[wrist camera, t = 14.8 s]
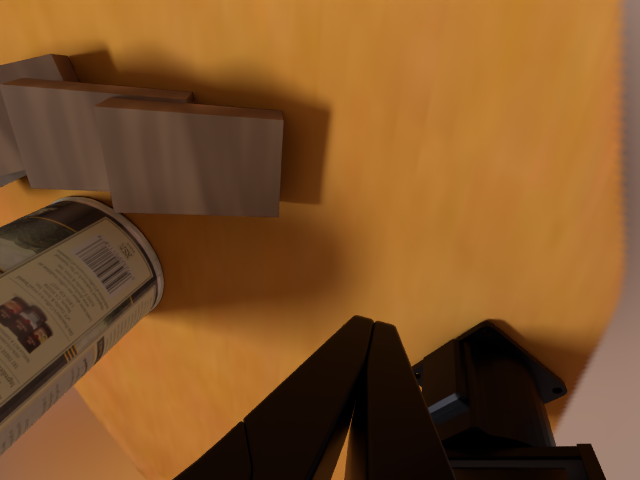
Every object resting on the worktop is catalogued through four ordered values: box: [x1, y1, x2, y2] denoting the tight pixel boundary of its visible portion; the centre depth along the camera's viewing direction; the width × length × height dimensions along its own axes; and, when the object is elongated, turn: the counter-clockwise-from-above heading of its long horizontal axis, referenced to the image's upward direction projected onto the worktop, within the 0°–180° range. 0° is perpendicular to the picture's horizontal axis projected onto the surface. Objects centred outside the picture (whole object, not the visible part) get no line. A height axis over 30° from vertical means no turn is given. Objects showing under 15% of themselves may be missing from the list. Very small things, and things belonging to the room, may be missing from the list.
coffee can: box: [0, 197, 164, 456], centre depth 22 cm, size 10×10×14 cm
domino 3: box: [94, 97, 284, 217], centre depth 19 cm, size 2×5×8 cm
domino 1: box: [0, 54, 79, 176], centre depth 20 cm, size 2×5×8 cm
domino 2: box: [0, 78, 193, 192], centre depth 19 cm, size 2×5×8 cm
